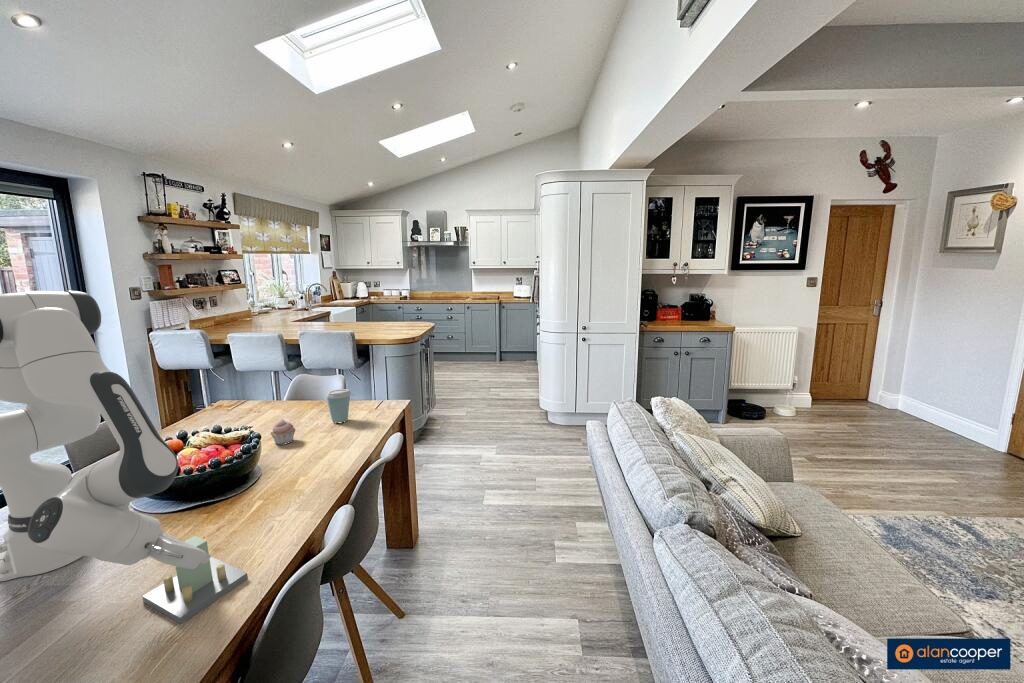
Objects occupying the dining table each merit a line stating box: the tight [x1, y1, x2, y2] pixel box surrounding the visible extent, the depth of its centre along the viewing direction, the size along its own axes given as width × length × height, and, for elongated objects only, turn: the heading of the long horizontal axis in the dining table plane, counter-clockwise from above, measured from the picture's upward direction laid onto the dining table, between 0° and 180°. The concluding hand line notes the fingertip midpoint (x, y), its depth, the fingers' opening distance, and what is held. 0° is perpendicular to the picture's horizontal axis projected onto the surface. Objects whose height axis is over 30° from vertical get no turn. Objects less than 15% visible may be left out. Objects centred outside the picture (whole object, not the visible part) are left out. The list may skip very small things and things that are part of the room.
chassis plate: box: [141, 556, 249, 625], centre depth 95 cm, size 14×14×4 cm
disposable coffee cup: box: [325, 388, 352, 424], centre depth 197 cm, size 11×11×15 cm
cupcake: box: [270, 418, 297, 445], centre depth 175 cm, size 9×9×10 cm
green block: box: [175, 535, 213, 593], centre depth 95 cm, size 4×4×10 cm
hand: (194, 553), depth 95 cm, fingers open, 8 cm apart
